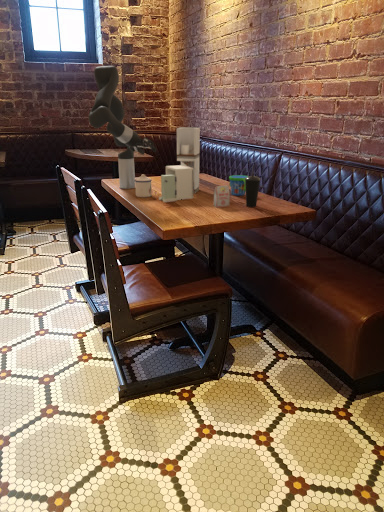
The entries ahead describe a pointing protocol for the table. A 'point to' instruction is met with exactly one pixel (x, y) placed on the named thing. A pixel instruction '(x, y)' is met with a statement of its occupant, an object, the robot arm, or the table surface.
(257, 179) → the drinking cup
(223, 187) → the white milk carton
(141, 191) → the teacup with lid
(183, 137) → the display case
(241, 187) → the snack cup
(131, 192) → the table surface
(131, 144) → the robot arm
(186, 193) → the cabinet
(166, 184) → the door
